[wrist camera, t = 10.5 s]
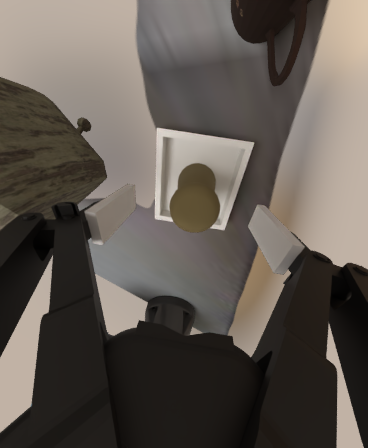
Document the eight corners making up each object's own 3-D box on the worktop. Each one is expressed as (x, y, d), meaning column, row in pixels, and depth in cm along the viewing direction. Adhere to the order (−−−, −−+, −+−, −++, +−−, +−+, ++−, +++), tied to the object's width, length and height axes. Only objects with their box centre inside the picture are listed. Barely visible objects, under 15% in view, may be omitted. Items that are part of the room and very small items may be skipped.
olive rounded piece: (211, 203, 24) (218, 245, 15) (176, 198, 24) (161, 237, 15) (219, 165, 21) (235, 188, 11) (179, 160, 21) (162, 179, 12)
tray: (222, 221, 27) (224, 230, 24) (159, 211, 27) (154, 218, 24) (247, 141, 20) (254, 142, 17) (162, 128, 20) (156, 127, 17)
